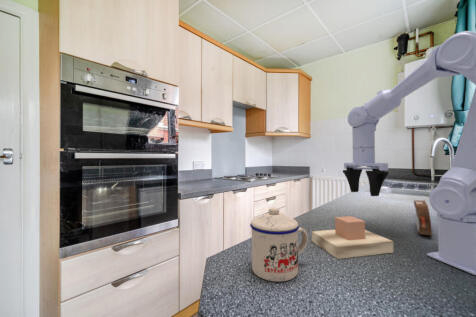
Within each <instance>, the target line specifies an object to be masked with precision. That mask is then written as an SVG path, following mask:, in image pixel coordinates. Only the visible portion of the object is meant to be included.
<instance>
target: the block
mask: <svg viewBox="0 0 476 317" xmlns="http://www.w3.org/2000/svg"><path fill="white" fill-rule="evenodd" d="M334 226H335V228H334V230H335V234H337V235H339V236H341V237H343V238H345V239H347V240H356V239H365V230H366V220H363V219H360V218H358V217H356V216H355V217H354V216H351V215H350V216H349V215H348V216H339V217H338V216H334Z"/></svg>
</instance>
